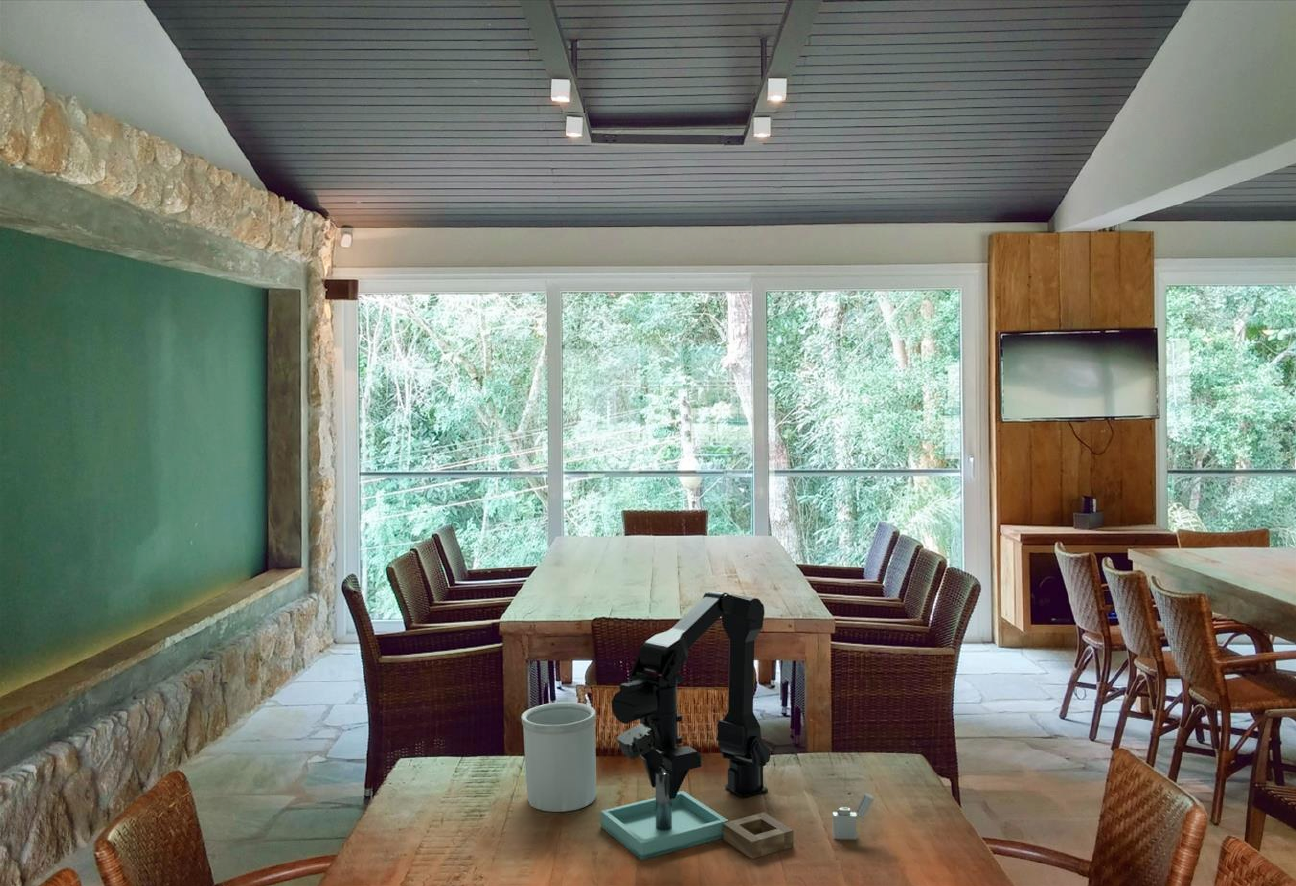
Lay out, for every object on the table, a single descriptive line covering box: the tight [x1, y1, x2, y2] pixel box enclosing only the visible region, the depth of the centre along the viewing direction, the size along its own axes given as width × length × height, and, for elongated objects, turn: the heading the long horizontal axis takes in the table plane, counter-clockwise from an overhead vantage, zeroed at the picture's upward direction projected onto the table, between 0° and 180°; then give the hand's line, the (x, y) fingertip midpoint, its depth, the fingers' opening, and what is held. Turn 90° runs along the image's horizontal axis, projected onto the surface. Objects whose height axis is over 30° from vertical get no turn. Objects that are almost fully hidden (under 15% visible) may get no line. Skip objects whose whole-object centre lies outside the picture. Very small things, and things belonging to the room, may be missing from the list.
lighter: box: [832, 792, 874, 840], centre depth 184 cm, size 7×2×8 cm, turn 85°
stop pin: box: [655, 770, 672, 830], centre depth 188 cm, size 3×3×10 cm
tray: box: [600, 790, 729, 861], centre depth 188 cm, size 18×16×3 cm
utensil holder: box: [521, 701, 597, 813], centre depth 204 cm, size 15×15×18 cm
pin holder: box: [722, 812, 795, 860], centre depth 183 cm, size 9×9×3 cm
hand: (663, 792), depth 188 cm, fingers open, 6 cm apart
